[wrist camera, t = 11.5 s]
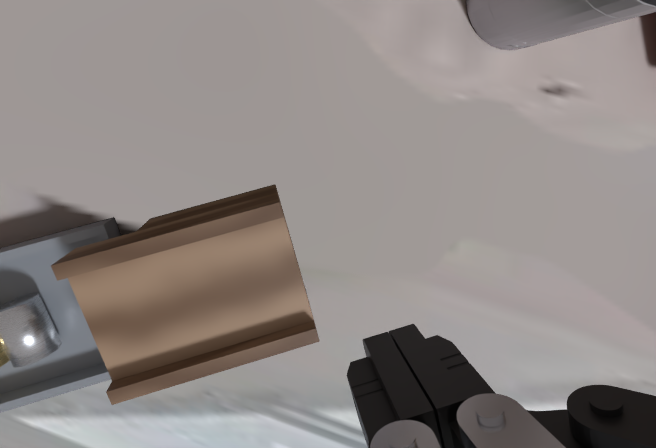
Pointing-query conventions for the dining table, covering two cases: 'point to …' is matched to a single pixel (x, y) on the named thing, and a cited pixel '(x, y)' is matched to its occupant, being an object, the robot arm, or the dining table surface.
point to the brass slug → (3, 356)
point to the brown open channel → (192, 293)
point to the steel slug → (27, 330)
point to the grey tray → (52, 317)
